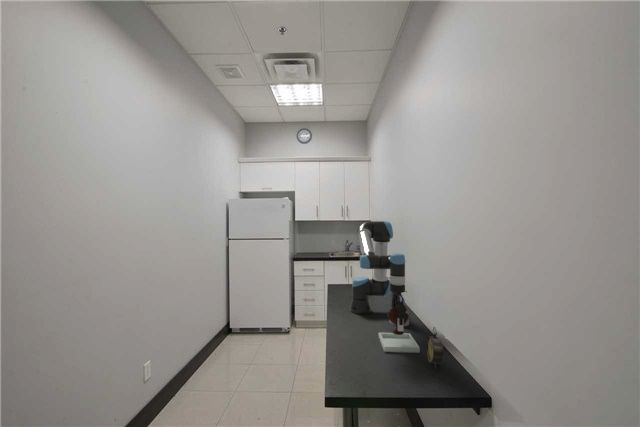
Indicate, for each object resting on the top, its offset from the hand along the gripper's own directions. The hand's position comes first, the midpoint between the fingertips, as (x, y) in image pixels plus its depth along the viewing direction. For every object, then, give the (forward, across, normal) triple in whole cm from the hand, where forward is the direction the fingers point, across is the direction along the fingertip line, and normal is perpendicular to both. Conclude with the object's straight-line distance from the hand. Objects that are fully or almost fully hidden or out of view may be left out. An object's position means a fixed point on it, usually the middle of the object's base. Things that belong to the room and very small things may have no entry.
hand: (397, 326), depth 140 cm
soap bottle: (+9, -31, +8) cm, 33 cm away
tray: (+9, 0, 0) cm, 9 cm away
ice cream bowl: (+3, 0, 0) cm, 3 cm away
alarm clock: (+9, +19, +12) cm, 24 cm away
